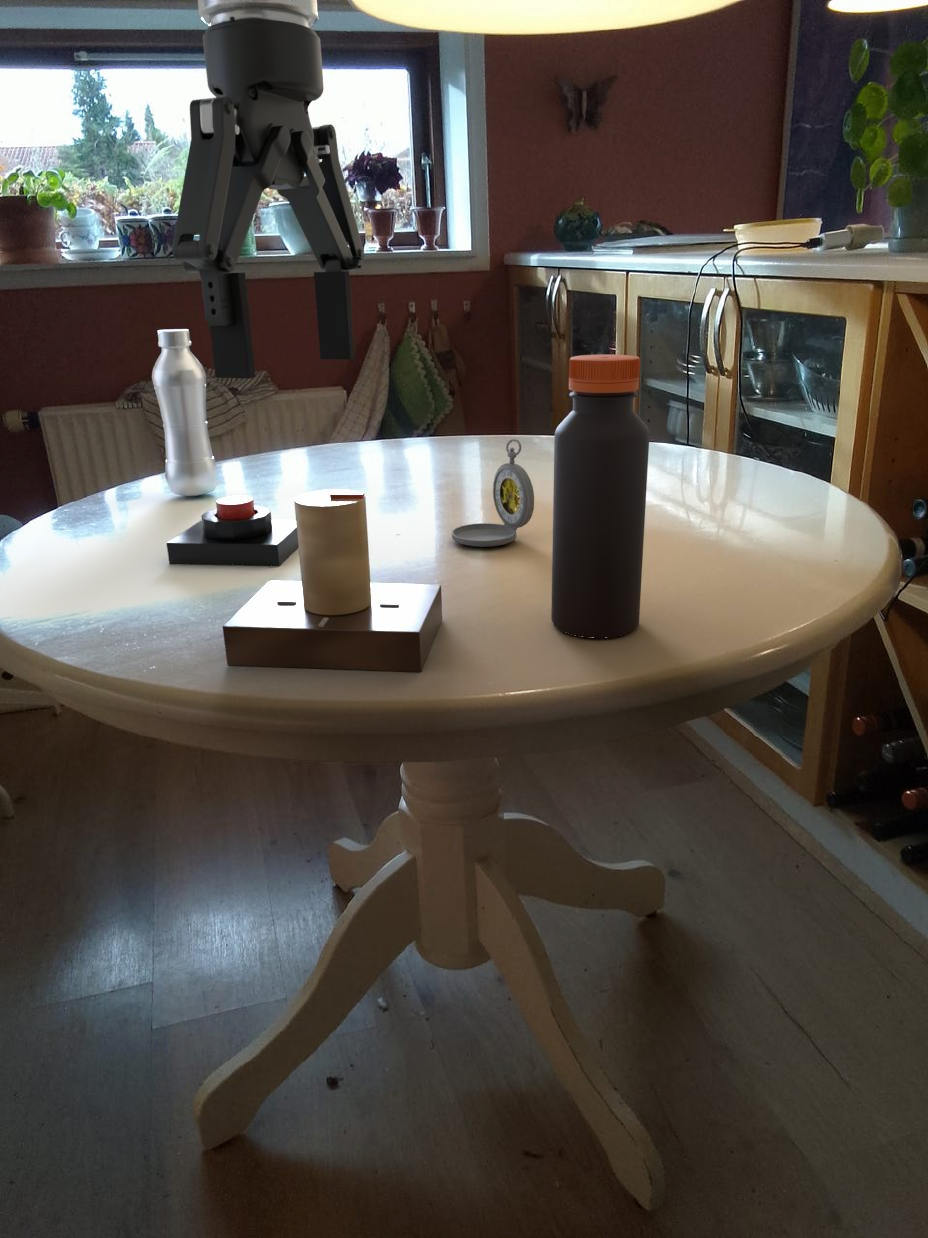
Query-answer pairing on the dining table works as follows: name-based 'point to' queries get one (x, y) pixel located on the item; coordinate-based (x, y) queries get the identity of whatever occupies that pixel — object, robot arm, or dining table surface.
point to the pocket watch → (503, 507)
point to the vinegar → (599, 500)
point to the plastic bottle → (184, 416)
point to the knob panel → (336, 630)
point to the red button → (235, 507)
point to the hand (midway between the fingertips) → (291, 367)
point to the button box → (235, 541)
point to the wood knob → (333, 551)
